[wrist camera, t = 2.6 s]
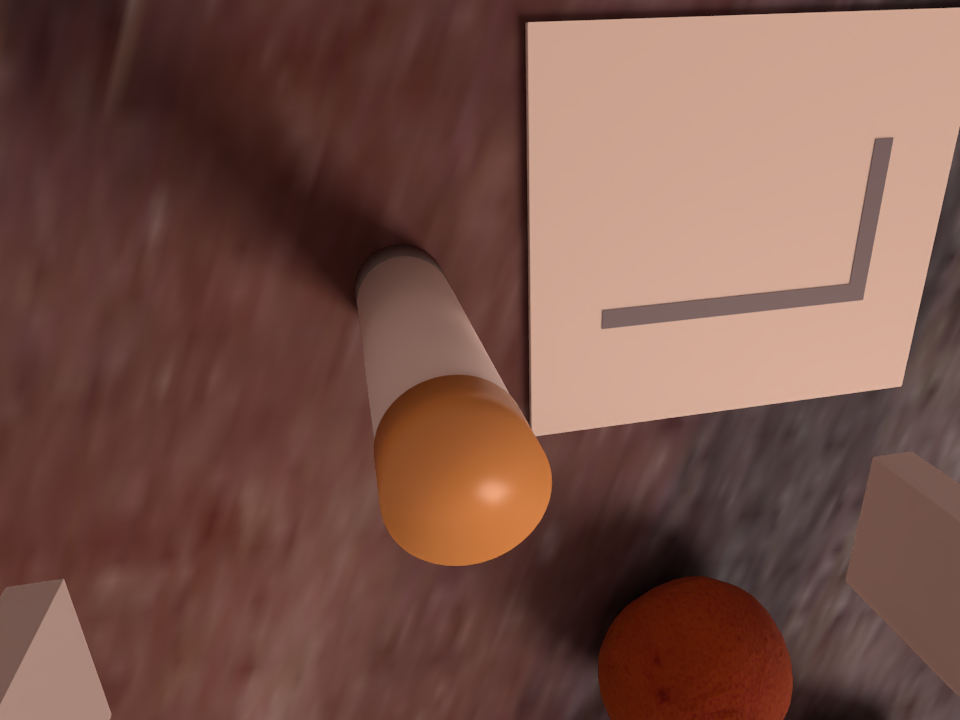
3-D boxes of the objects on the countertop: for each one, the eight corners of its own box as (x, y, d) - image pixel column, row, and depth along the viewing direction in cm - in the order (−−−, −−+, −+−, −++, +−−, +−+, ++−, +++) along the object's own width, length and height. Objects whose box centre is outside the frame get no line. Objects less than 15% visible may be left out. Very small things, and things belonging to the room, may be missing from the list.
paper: (529, 433, 30) (531, 437, 30) (525, 22, 24) (528, 22, 24) (896, 383, 33) (902, 386, 33) (979, 7, 27) (987, 6, 27)
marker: (359, 337, 27) (388, 578, 14) (349, 248, 26) (370, 429, 13) (448, 327, 28) (551, 551, 15) (443, 240, 26) (551, 405, 14)
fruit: (638, 707, 39) (710, 856, 31) (547, 624, 35) (604, 771, 28) (769, 612, 38) (874, 743, 31) (690, 516, 34) (788, 639, 27)
